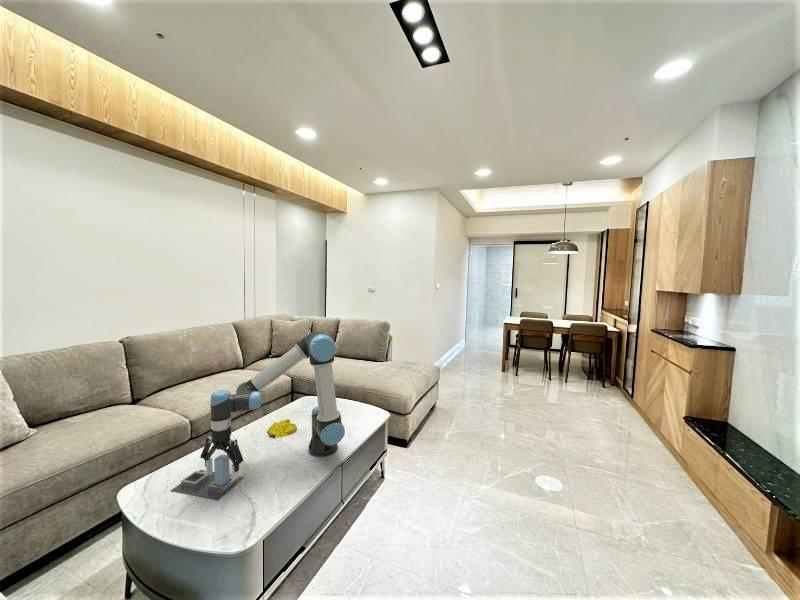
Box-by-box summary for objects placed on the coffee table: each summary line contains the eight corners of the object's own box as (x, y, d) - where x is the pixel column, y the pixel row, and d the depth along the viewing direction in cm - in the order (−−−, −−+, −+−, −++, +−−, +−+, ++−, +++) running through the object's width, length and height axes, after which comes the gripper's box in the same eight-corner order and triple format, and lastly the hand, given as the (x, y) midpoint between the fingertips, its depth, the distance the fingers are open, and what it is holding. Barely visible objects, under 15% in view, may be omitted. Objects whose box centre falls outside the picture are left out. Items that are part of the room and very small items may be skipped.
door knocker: (299, 432, 194) (299, 425, 194) (272, 440, 184) (272, 433, 184) (290, 422, 207) (290, 416, 207) (263, 429, 198) (263, 422, 197)
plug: (231, 482, 144) (231, 454, 143) (222, 490, 139) (222, 460, 138) (223, 481, 144) (223, 452, 144) (214, 488, 140) (214, 459, 139)
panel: (245, 479, 148) (245, 473, 148) (218, 502, 132) (217, 495, 132) (200, 471, 153) (200, 465, 153) (169, 493, 138) (169, 486, 137)
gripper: (252, 427, 140) (252, 475, 142) (204, 420, 146) (205, 467, 147) (239, 435, 133) (240, 485, 134) (189, 428, 139) (191, 476, 140)
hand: (222, 476), depth 141 cm, fingers open, 12 cm apart
